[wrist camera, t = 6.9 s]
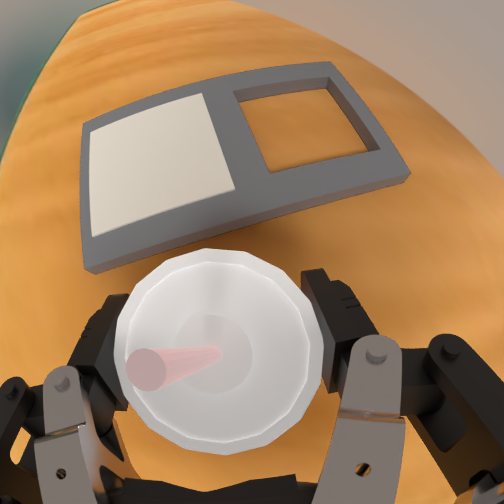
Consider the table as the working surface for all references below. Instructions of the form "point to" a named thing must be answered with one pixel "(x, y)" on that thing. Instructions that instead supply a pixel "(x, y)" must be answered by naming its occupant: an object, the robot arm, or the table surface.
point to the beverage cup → (218, 351)
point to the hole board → (211, 165)
